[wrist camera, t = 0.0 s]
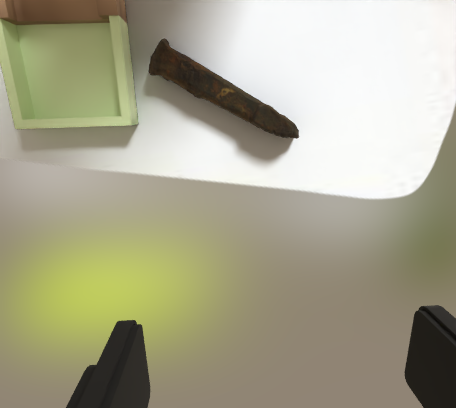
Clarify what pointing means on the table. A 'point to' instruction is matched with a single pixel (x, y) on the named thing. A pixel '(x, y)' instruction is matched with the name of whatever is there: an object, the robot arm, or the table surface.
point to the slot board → (60, 11)
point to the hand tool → (218, 90)
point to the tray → (68, 74)
